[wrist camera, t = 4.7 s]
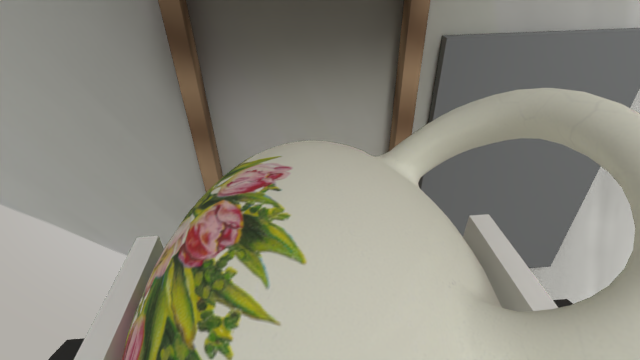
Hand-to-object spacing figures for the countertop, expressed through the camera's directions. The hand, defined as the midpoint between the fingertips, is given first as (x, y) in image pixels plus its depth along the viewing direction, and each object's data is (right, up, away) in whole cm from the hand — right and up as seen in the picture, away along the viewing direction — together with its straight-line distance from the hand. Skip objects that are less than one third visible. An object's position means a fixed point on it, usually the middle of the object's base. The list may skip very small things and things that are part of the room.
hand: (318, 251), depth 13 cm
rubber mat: (+17, +3, +18) cm, 25 cm away
